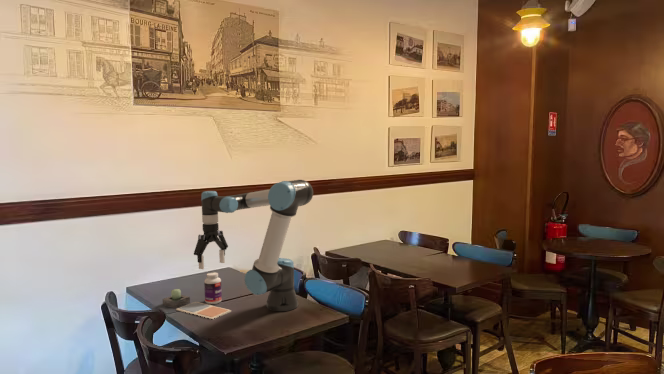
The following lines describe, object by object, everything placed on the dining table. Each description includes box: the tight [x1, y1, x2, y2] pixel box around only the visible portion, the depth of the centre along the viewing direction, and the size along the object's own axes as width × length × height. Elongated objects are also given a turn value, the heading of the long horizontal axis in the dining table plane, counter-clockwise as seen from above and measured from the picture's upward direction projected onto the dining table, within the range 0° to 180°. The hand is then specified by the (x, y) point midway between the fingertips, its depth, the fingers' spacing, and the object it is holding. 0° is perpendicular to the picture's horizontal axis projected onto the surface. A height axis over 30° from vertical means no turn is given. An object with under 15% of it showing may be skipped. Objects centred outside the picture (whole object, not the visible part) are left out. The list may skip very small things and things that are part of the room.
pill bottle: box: [203, 272, 223, 305], centre depth 234 cm, size 8×8×14 cm
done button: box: [170, 288, 182, 300], centre depth 233 cm, size 4×4×4 cm
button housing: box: [162, 294, 191, 309], centre depth 233 cm, size 9×9×3 cm
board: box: [175, 301, 232, 320], centre depth 223 cm, size 24×12×1 cm, turn 58°
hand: (212, 265), depth 233 cm, fingers open, 13 cm apart
